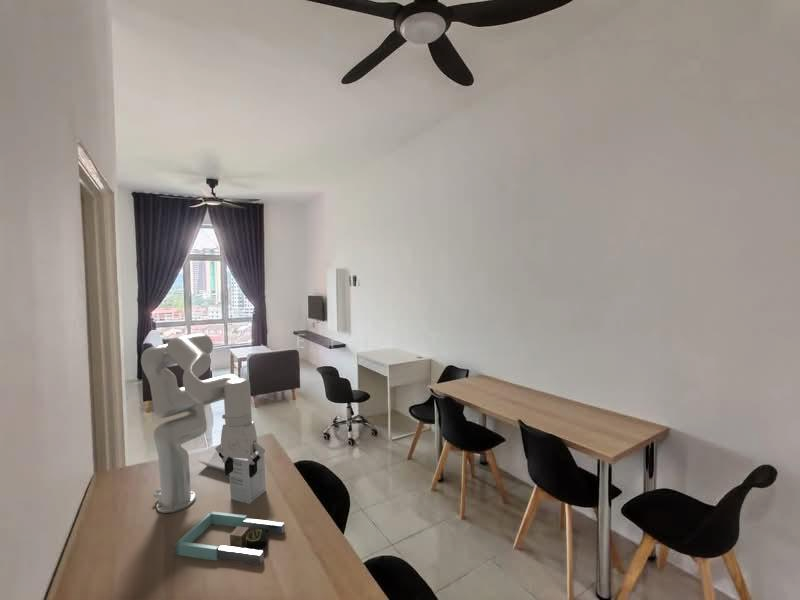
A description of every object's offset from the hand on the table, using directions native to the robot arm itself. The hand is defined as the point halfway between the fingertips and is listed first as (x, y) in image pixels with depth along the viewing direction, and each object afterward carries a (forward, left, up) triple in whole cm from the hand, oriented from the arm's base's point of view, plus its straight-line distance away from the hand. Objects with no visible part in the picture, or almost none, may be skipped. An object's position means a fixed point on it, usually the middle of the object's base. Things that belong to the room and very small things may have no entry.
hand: (241, 473), depth 117 cm
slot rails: (+3, 0, -23) cm, 23 cm away
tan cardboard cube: (-1, 0, -23) cm, 23 cm away
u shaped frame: (-11, 0, -23) cm, 25 cm away
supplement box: (-14, +24, -23) cm, 36 cm away
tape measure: (+5, 0, -23) cm, 24 cm away
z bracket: (-33, +40, -23) cm, 57 cm away
